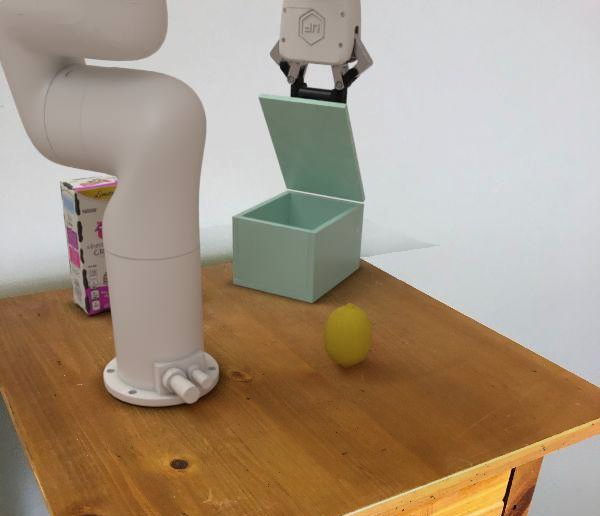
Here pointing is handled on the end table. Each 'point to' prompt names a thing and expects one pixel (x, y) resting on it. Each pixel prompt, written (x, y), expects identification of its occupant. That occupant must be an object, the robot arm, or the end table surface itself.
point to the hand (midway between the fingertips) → (317, 115)
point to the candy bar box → (87, 239)
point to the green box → (297, 244)
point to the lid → (314, 143)
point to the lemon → (348, 335)
